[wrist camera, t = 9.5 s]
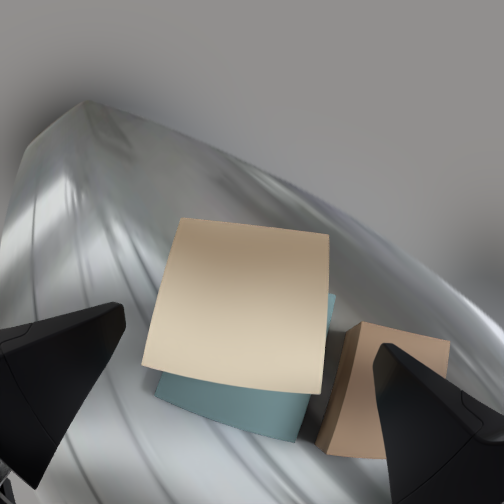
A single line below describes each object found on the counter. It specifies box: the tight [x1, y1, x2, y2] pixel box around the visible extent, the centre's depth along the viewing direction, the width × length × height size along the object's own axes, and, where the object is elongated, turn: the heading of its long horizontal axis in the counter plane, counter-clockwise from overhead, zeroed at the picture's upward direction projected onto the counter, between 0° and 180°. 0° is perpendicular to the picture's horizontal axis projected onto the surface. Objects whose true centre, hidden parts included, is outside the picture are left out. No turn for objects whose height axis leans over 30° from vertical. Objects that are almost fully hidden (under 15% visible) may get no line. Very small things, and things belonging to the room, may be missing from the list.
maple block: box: [141, 218, 329, 394], centre depth 11 cm, size 4×4×10 cm
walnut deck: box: [315, 321, 450, 459], centre depth 13 cm, size 8×7×3 cm
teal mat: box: [154, 293, 336, 443], centre depth 16 cm, size 10×9×1 cm
